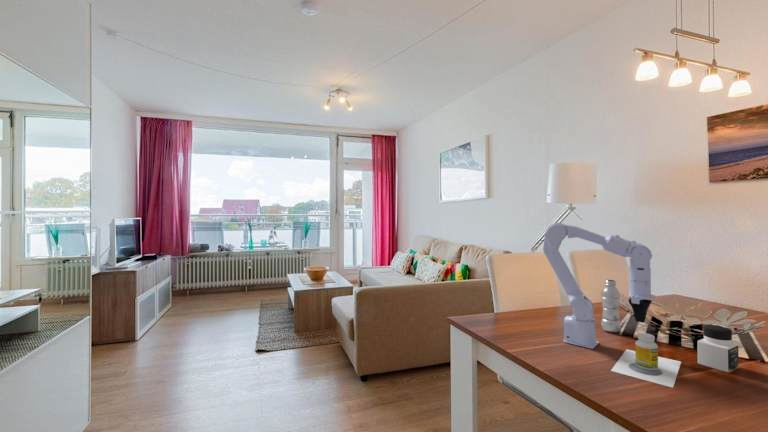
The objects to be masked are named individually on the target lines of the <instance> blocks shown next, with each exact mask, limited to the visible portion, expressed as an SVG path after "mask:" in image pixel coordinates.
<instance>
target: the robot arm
mask: <svg viewBox="0 0 768 432" xmlns="http://www.w3.org/2000/svg"><path fill="white" fill-rule="evenodd" d="M566 237H567V239H573V238H579V239H581V240H585V241H588V242H590V243H593V244H594V243H595V244H597V245H600V246H602V248H603V250H604V251H606V252H609V253H612V254H614V255H618V256H620V257H622V258H629V266H628V271H629V272H628V279H629V282H628V289H629V291H628V297H630V298H629V299H628V303H629V305H630V307H631V308H632V311H633V315H634V318H635V322H638V323H645V321H646V318H647V312H648V310H649V307H650V306H651V304H652V303H653V301H652V300H651V299H656V297H657V296H656V295H655V294H652V288H651V287H652V278H651V277H652V276H651V275H652V271H651V270H652V269H651V260H652V258H653V254H652V251H651V249H649V247H647V246H646V245H644V244H642V243H638V242H637V241H635V240H628V239H625V238H622V237H621V236H620V235H619V234H615V235H613V234H610V235H607V236H604V235H601V234H599V233H595V232H592V231H590V230H587V229H584V228H581V227H579V226H576V225H572V224H564V223H562V222H555V223H552V224H550V225H549V226H548V227H547V229H546V231H545V232H544V240H543V248H542V251H543V253H544V255H545V256H546V259H547V261H548V262H549V264H550V267H551V268H552V270H553V271H554V273H555V275H556V276H557V278H558V281H559V282H560V283H561V286H562V288H563V289H564V291H565V293H566V295H567V297H568V300H569V303H570V305H571V307H572V310H571V311H572V314H571V315H566V316H565V317H564V321H563V342H564V343H568V344H571V345H575V346H580V347H583V348H587V349H592V350H593V349H595V348H596V346H598V345H599V344H600V342H599V341H598V340H596V318H595V317H594V308H595V307H594V303H593V302H592V300H590V298H588V297H587V296H586V295H585V293H584V292H583V290H582V289H581V287H580V286H579V284H578V283H577V280H576V278H575V277H574V275H573V274H572V272H571V270H570V269H569V267H568V265H567V263H566V261H565V259H564V257H563V256H562V254H561V252H560V251H559V250H560V247H561V244H562V242H563V241H564V239H566Z"/></svg>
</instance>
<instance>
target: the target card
mask: <svg viewBox="0 0 768 432" xmlns="http://www.w3.org/2000/svg"><path fill="white" fill-rule="evenodd" d="M681 364H682V361H680V360H676V359H675V360H674V359H671V358H667V357H662V356H658V369H657V370H646V369H642V368H640V367H638V366H637V365H636V350H632V349H625V351H623V354H622V355H621V356H620V358H619V359H618V361H616V362H615V364H614V366H613V367H612V368H611V370H610V371H611V372H614V373H617V374H621V375H624V376H629V377H631V378H635V379H639V380H643V381H647V382H650V383H654V384H658V385H660V386H665V387H669V388H674V385H675V383H676V379H677V376H678V374H679V370H680V367H681Z"/></svg>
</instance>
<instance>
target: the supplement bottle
mask: <svg viewBox="0 0 768 432" xmlns="http://www.w3.org/2000/svg"><path fill="white" fill-rule="evenodd" d="M637 338H638V339H637V340H635V342H634V343H635V349H634V351H636V365H637V366H638V367H640V368H642V369H646V370H657V369H658V357H659V351H658V350H659V346H658V344H657V343H656V341H655V340H656V337H655V335H653V334H650V333H645V332H638V333H637Z"/></svg>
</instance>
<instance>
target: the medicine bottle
mask: <svg viewBox="0 0 768 432" xmlns="http://www.w3.org/2000/svg"><path fill="white" fill-rule="evenodd" d="M732 332H733V331H732V329H731V328H730V327H727V326H725V325H720V324H715V323H714V324H713V323H711V324H710V323H708V324H705V325H703V338H701V339H698V340H697V342H696V343H697V348H696V349H697V364H699V365H702V366H705V367H708V368H711V369H715V370H718V371H721V372H725V373H727V374H728V373H731V372H733V371H735V370H737V369H739V365H740V364H739V344H738V343H735V342H733V339H732V338H733V334H732Z"/></svg>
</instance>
